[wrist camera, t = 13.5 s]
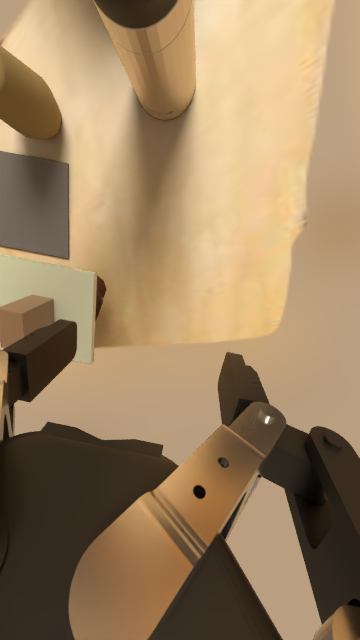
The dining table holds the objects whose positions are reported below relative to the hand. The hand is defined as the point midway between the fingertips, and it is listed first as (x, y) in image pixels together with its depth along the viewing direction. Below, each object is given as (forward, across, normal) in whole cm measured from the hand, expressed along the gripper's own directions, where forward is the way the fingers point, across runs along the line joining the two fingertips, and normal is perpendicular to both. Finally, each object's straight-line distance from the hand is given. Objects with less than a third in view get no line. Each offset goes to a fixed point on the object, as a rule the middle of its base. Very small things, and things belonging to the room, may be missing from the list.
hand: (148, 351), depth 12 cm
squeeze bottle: (+34, +27, -19) cm, 48 cm away
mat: (+34, +31, -5) cm, 46 cm away
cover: (+19, +18, +8) cm, 27 cm away
